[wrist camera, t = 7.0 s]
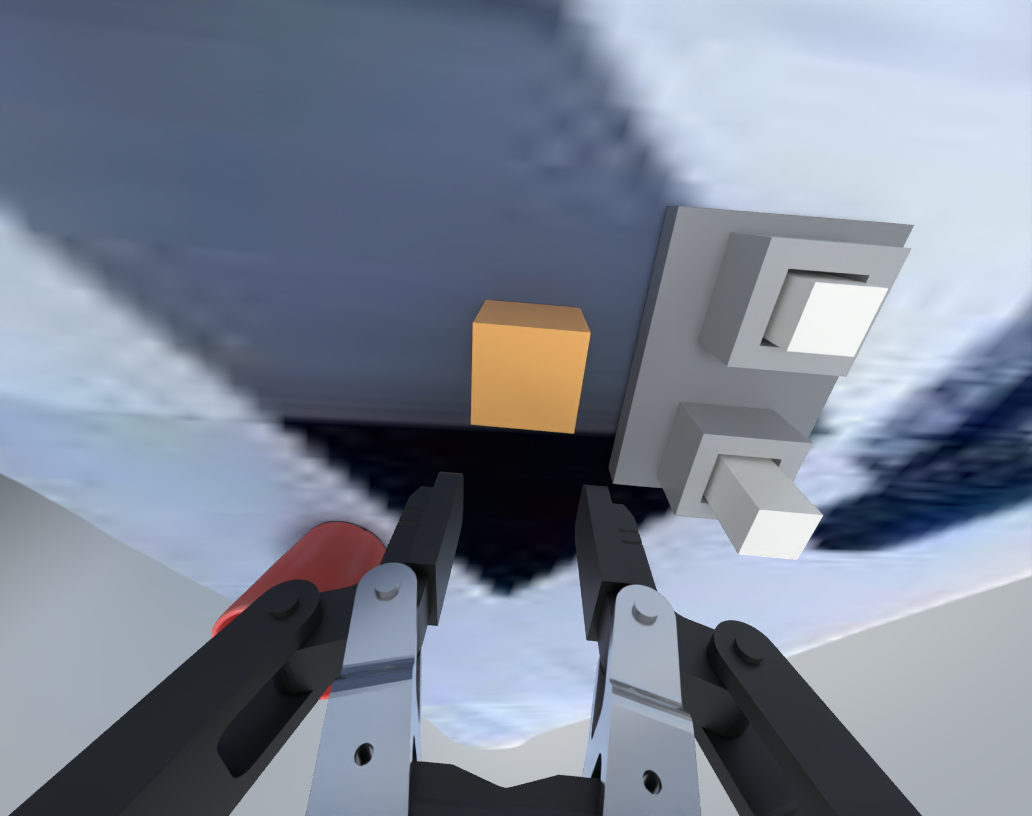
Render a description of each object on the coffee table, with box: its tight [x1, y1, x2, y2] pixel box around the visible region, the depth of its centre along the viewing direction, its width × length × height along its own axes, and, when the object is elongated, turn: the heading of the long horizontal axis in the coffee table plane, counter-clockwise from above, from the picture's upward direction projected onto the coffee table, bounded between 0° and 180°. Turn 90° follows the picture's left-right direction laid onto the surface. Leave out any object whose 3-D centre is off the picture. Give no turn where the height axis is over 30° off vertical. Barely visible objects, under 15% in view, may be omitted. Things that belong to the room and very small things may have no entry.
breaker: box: [703, 454, 823, 560], centre depth 21 cm, size 3×3×6 cm
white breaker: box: [763, 269, 888, 357], centre depth 19 cm, size 3×3×6 cm
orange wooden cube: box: [471, 300, 591, 433], centre depth 23 cm, size 6×6×6 cm
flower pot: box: [211, 522, 386, 700], centre depth 31 cm, size 11×11×10 cm
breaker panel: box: [609, 206, 914, 520], centre depth 23 cm, size 18×12×6 cm, turn 176°
